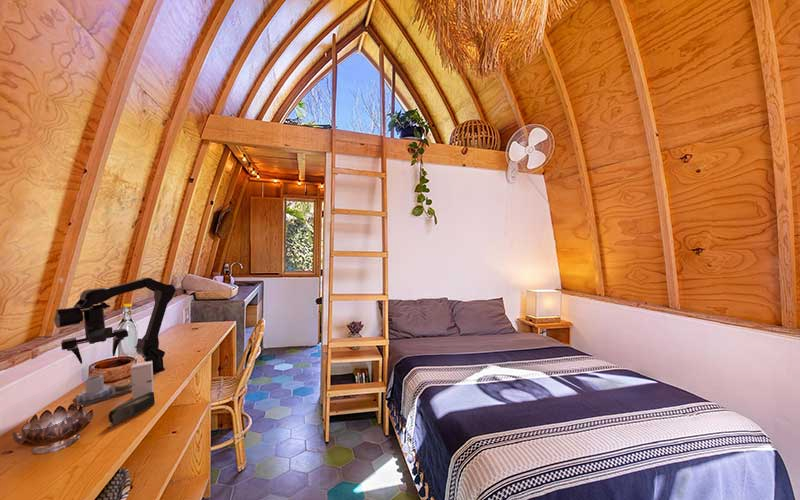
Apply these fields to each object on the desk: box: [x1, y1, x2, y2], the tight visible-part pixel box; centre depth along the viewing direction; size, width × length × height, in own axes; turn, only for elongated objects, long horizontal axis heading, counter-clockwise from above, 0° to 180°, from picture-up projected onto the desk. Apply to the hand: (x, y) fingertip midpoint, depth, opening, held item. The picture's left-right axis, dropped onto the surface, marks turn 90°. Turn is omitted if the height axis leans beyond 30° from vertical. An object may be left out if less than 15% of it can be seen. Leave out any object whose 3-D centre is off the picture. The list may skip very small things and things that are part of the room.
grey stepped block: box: [77, 374, 113, 401], centre depth 118 cm, size 9×9×6 cm
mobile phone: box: [107, 391, 156, 429], centre depth 104 cm, size 5×3×15 cm
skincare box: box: [130, 361, 155, 400], centre depth 117 cm, size 6×4×12 cm
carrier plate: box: [75, 378, 132, 408], centre depth 121 cm, size 18×12×4 cm, turn 139°
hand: (97, 359), depth 124 cm, fingers open, 9 cm apart
